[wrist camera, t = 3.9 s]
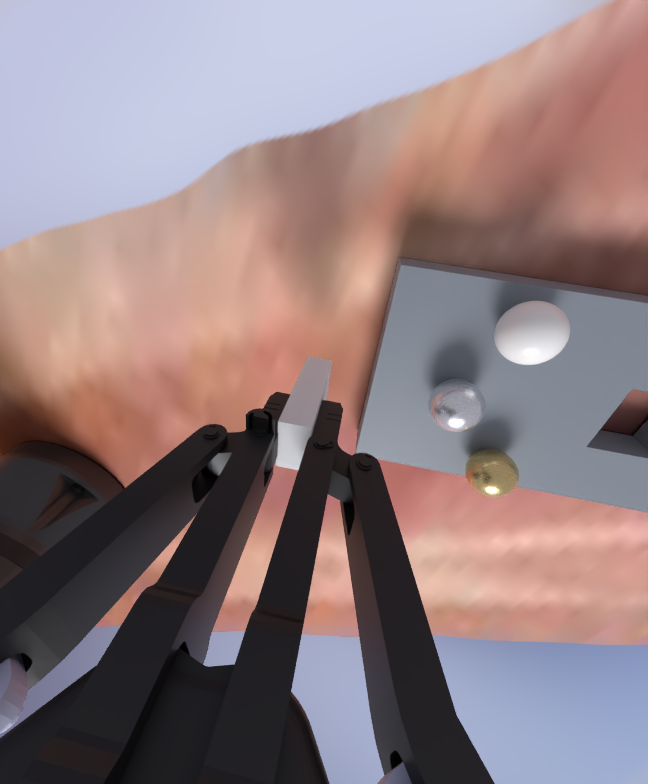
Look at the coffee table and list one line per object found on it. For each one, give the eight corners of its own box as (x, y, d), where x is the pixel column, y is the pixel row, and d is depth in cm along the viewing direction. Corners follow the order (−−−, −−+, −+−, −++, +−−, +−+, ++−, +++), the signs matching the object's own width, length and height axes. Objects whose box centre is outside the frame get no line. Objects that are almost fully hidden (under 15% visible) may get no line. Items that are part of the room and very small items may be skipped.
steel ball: (418, 406, 21) (424, 437, 18) (433, 365, 19) (442, 392, 16) (466, 415, 21) (479, 448, 18) (485, 374, 19) (503, 403, 16)
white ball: (477, 344, 18) (494, 369, 15) (501, 288, 16) (524, 306, 14) (533, 353, 18) (560, 381, 15) (563, 298, 16) (600, 318, 13)
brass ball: (454, 467, 23) (463, 502, 20) (470, 434, 21) (483, 468, 19) (497, 475, 23) (513, 512, 20) (517, 443, 21) (537, 479, 19)
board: (357, 433, 26) (355, 454, 24) (398, 257, 18) (400, 264, 16) (642, 489, 25) (666, 516, 23) (815, 321, 17) (876, 338, 15)
